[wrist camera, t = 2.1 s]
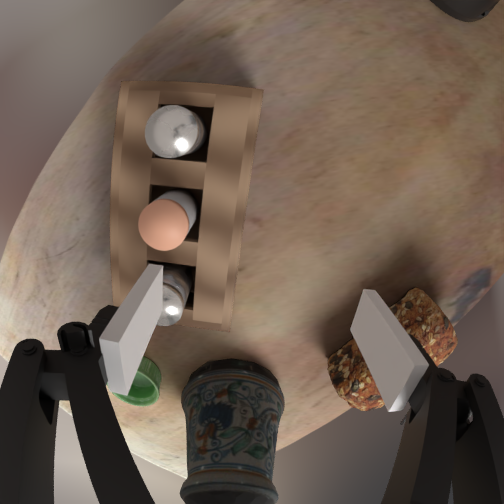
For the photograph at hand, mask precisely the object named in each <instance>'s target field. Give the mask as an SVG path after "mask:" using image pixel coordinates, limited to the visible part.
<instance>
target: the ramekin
mask: <svg viewBox="0 0 504 504" xmlns="http://www.w3.org/2000/svg"><path fill="white" fill-rule="evenodd" d="M160 382H161V374H160V371H159V369H158V367H157V366H156V365H155V364H154V363H153V362H152V361H151V360H149V359H148V358H146V357H144V356H143V357H142V360H141V362H140V365H139V367H138V370H137V372H136V375H135V377H134V380H133V382H132V385H131V387H130V390H129V392H128V395H127V396H126V395H122V394H118V393H114V392H112V393H113V394H114V395H115V396H116V397H118V398H119V399H120V400H122V401H124V402H126V403H128V404H131V405H135V406H149V405H152V404H154V403H155V402H156V401H157V400H158V398H159V387H160ZM107 386H108V382H107ZM108 388H109V387H108Z"/></svg>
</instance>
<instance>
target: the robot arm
mask: <svg viewBox="0 0 504 504" xmlns="http://www.w3.org/2000/svg"><path fill="white" fill-rule="evenodd" d="M431 1H432V2H433V3H434V4H435V5H436V6H437V7H438V8H440V9H441V10H442V11H444V12H445V13H447V14H448V15H450V16H452V17H454V18H456V19H458V20H461V21H465V22H473V21H476V20H479V19H482V18H484V17H485V16H487V15H488V13H489V12H490V11H491V10H492V9H493V8H494V6H495V5H496V4H497V3H498V2H499V0H431ZM162 310H163V266H162V265H155V264H149V265H148V266H147V268H146V269H145V270H144V272H143V273H142V275H141V276H140V278H139V279H138V280H137V282H136V283H135V285H134V286H133V288H132V289H131V291H130V292H129V293H128V295H127V296H126V298H125V299H124V301H123V302H122V304H121V305H120V307H117V306H112V305H108V306H106V307H104V308H103V309H101V310H100V311H99V312H98V314H97V315H96V316H95V318H94V319H93V320H92V323H90V325H89V326H88V325H87V324H85V323H82V322H70V323H66V324H64V325H63V326H61V327H60V328H59V330H58V333H57V336H58V340H59V344H60V348H61V350H45V349H44V346H43V344H42V342H40V341H39V340H37V339H25V340H22V341H21V342H19V343H18V344H17V345H16V346H15V348H14V350H13V353H12V356H11V358H10V361H9V364H8V367H7V370H6V373H5V376H4V379H3V382H2V385H1V388H0V504H54V453H55V452H54V451H55V438H56V426H57V415H58V407H59V400H69V401H70V406H71V410H72V415H73V419H74V424H75V428H76V432H77V436H78V440H79V443H80V447H81V450H82V454H83V457H84V460H85V464H86V467H87V470H88V473H89V476H90V479H91V482H92V485H93V487H94V490H95V493H96V495H97V498H98V501H99V503H100V504H155V502H154V501H153V499H152V497H151V495H150V493H149V491H148V489H147V487H146V485H145V483H144V481H143V479H142V477H141V475H140V473H139V471H138V469H137V466H136V464H135V462H134V460H133V457H132V455H131V453H130V450H129V448H128V446H127V443H126V441H125V438H124V436H123V433H122V431H121V428H120V426H119V423H118V421H117V418H116V415H115V412H114V410H113V407H112V404H111V401H110V398H109V395H108V392H107V389H106V384H107V382H108V387H109V391H110V392H114V393H118V394H122V395H126V396H127V395H128V392H129V390H130V387H131V385H132V382H133V380H134V377H135V375H136V372H137V370H138V367H139V365H140V362H141V360H142V357H143V355H144V353H145V350H146V348H147V345H148V343H149V341H150V338H151V336H152V334H153V331H154V329H155V327H156V324H157V322H158V320H159V317H160V315H161V313H162ZM350 331H351V333H352V335H353V337H354V339H355V341H356V343H357V345H358V347H359V349H360V351H361V353H362V356H363V358H364V360H365V362H366V364H367V366H368V368H369V370H370V372H371V375H372V377H373V379H374V381H375V383H376V385H377V388H378V390H379V392H380V394H381V397H382V399H383V401H384V403H385V405H386V407H387V410H388V412H391V411H401V410H403V408H404V407H405V405H406V404H407V402H408V401H409V403H410V405H411V408H410V409H409V411H408V412H407V414H406V415H405V417H404V419H403V420H402V421H401V423H400V424H401V425H402V424H403V423H404V422H405V421H406V422H405V426H404V430H403V434H402V438H401V443H400V446H399V450H398V453H397V457H396V460H395V464H394V467H393V470H392V473H391V476H390V479H389V483H388V485H387V488H386V491H385V494H384V497H383V500H382V502H381V504H448V499H449V493H450V486H451V480H452V487H453V499H454V504H504V418H503V415H502V412H501V409H500V407H499V404H498V402H497V399H496V397H495V394H494V392H493V389H492V387H491V384H490V383H489V381H488V380H487V379H486V378H485V377H484V376H483V375H479V374H472V375H470V377H469V378H468V380H467V382H464V381H459V380H456V377H455V376H454V374H453V373H451V372H450V371H449V370H446V369H444V368H438V367H437V366H436V364H435V363H434V361H433V360H432V359H431V357H430V356H429V354H428V353H426V350H425V349H424V348H423V346H422V345H421V343H420V342H419V340H418V339H416V338H415V337H414V336H412V335H411V334H407V332H406V331H405V329H404V328H403V327H402V325H401V324H400V323H399V321H398V320H397V318H396V317H395V316H394V314H393V313H392V312H391V310H390V309H389V308H388V306H387V305H386V304H385V302H384V301H383V300H382V298H381V297H380V296H379V294H378V293H377V292H376V290H369V289H363V292H362V295H361V298H360V301H359V305H358V308H357V311H356V314H355V317H354V319H353V322H352V325H351V328H350ZM472 415H473V421H472V422H471V423H470V421H469V418H470V417H471V416H472Z"/></svg>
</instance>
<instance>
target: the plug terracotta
mask: <svg viewBox="0 0 504 504" xmlns="http://www.w3.org/2000/svg"><path fill="white" fill-rule="evenodd" d="M198 212H199V207H198V203H197V200H196V198H195V197H194V196H193V195H192V194H191V193H190V192H189V191H187V190H184V189H180V188H176V189H171V190H169V191H167V192H166V193H164V194H163V195H161V196H160V197H159V198H157V199H156V200H154V201H153V202H152V203H150V204H149V205H148V206H146V207H145V208H144V209H143V211H142V212H141V214H140V217H139V221H138V228H139V232H140V235H141V237H142V238H143V240H144V241H145V242H146V243H147V244H148V245H149V246H151V247H152V248H154V249H157V250H161V251H167V250H172V249H174V248H176V247H178V246H179V245H180V244H181V243H182V242H183V240H184V239H185V237H186V235H187V234H188V232H189V230H190V229H191V227H192V225H193V224H194V222H195V220H196V219H197V216H198Z"/></svg>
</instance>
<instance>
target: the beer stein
mask: <svg viewBox="0 0 504 504" xmlns="http://www.w3.org/2000/svg"><path fill="white" fill-rule="evenodd" d="M181 403H182V408H183V410H184V413H185V417H186V432H187V471H188V477H187V480H185V482H184V483H183V485H182V487H181V490H180V496H181V498H182V499H183V501H184V502H185V504H275V503H276V502H277V500H278V493H277V491H276V488H275V486H274V485H273V483H272V476H273V468H274V458H275V451H276V442H277V433H278V427H279V422H280V418H281V416H282V414H283V411H284V396H283V393H282V391H281V388H280V386H279V383H278V381H277V379H276V378H275V377H274V376H273V374H272V373H271V372H270V371H269V370H267V369H265V368H263V367H262V366H260V365H258V364H256V363H254V362H249V361H243V360H237V359H225V360H217V361H209V362H207V363H205V364H204V365H203V366H202V367H200V368H199V369H198V370H196V371H195V372H194V373H193V374H191V377H190V379H189V381H188V384H187V385H186V387H185V388H184V390H183V392H182V396H181Z"/></svg>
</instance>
